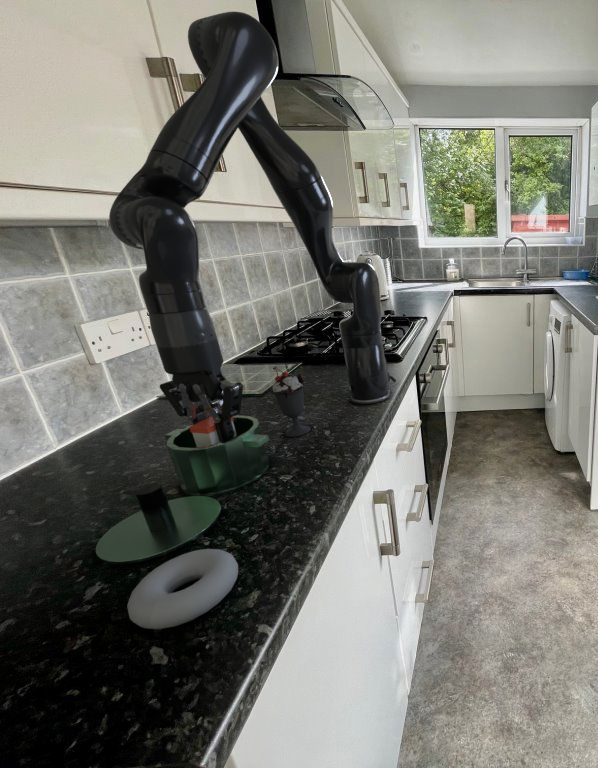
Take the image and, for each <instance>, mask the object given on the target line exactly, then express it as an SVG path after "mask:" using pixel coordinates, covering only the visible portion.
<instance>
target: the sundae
mask: <svg viewBox="0 0 598 768" xmlns="http://www.w3.org/2000/svg"><path fill="white" fill-rule="evenodd" d="M272 369H273V370H275V372H276V377H274V380H275V382H274V383H273V385H272V387H270V388H269V393H270V394H271V395H274V396H275V398H276V401H277V404H278V405H279V408H280V411H281V412H282V414H283V415H285V416H286V417H288V418H291V420H292V427H291V428H289V429H287V430H286V431H285V433H284V435H285V436H287V437H288V438H289V437H290V438H295V437H300V436H303V435H306V434H308V433H310V431H311V429H312V428H311V427H310V426H308V425H301V423H300V419H299V416H300V415H301V414H302V413H303V411H304V410H305V398H304V397H305V396H304V388H305V387H306V385H307V383H305V382H304V381H305V379H304V376H303V375H302V373H299V374H298V375H297V376H296V375H294V374H292V373H288V372H287V371H282V370H280V369H279V368H278V367H277V366H274V367H272ZM278 371H279V372H281V375H279V372H278Z"/></svg>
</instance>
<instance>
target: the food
mask: <svg viewBox="0 0 598 768" xmlns="http://www.w3.org/2000/svg"><path fill="white" fill-rule="evenodd" d="M233 421H234V419H233V417H231V422H232V426H233V430H234V437H235V436H237V434H236V431H235V427H234V424H233ZM214 422H215V421H214V420H213V418H212V416H209V418H207V419H205V420H203V421H201V422H199V423H197V424H194V425H193V424H191V425H192V426H191V425H189V426H190V427H189V426H188V427H189V428H190V431H191V433H193V437H194V440H195V443H196V446H197V447H205V446H210V445H214V444H218V443H222V442H220V441H219V438H218V434H217V431H216V427H215V424H214Z"/></svg>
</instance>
